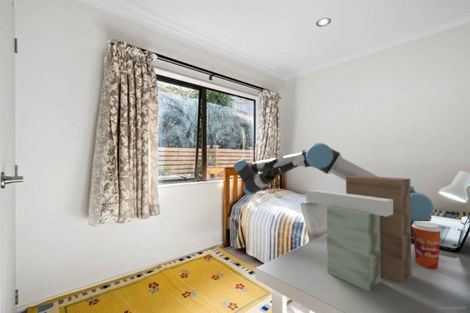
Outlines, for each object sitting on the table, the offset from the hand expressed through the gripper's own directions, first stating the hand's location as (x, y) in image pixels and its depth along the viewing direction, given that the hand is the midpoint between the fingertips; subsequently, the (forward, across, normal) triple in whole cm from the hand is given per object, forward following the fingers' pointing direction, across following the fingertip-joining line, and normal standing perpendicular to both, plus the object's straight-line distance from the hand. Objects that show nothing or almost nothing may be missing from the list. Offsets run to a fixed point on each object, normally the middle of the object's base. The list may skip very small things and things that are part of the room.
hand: (293, 156), depth 94 cm
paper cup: (+16, -20, -53) cm, 58 cm away
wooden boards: (+8, +2, -48) cm, 49 cm away
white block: (+14, +8, -27) cm, 32 cm away
